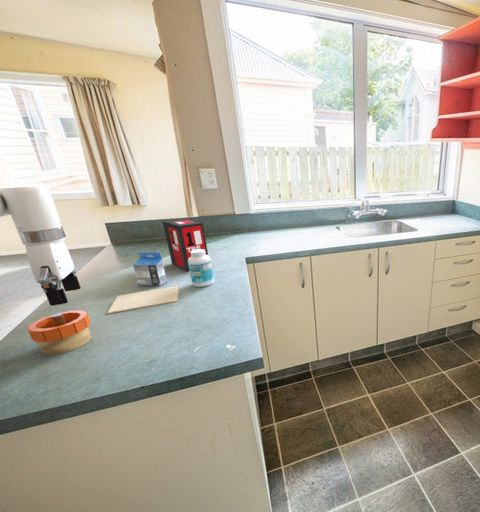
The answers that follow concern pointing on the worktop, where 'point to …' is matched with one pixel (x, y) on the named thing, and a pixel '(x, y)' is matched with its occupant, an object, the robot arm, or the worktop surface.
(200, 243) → the cleaning product box
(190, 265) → the pill bottle
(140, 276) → the label tape box
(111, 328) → the worktop surface
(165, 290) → the mat
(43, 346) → the stake stand
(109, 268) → the worktop surface
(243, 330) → the worktop surface
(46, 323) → the ring
